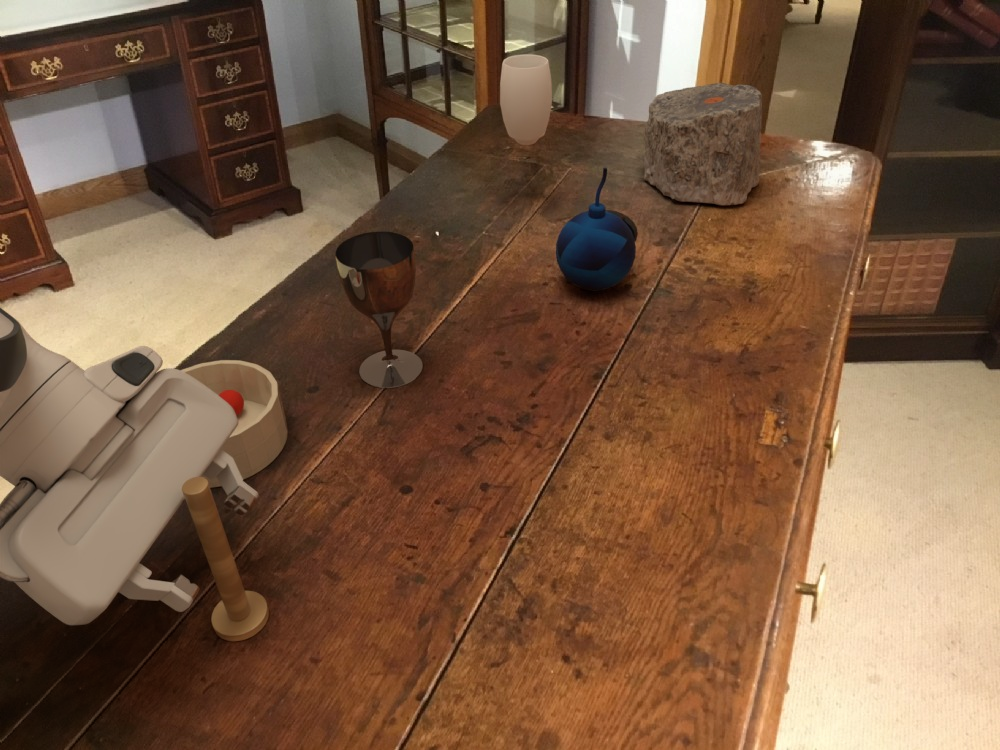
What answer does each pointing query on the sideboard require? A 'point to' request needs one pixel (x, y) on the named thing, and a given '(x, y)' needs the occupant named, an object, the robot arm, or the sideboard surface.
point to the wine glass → (381, 298)
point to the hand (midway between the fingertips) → (223, 550)
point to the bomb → (597, 246)
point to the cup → (526, 97)
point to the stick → (223, 569)
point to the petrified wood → (705, 143)
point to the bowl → (248, 413)
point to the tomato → (233, 400)
